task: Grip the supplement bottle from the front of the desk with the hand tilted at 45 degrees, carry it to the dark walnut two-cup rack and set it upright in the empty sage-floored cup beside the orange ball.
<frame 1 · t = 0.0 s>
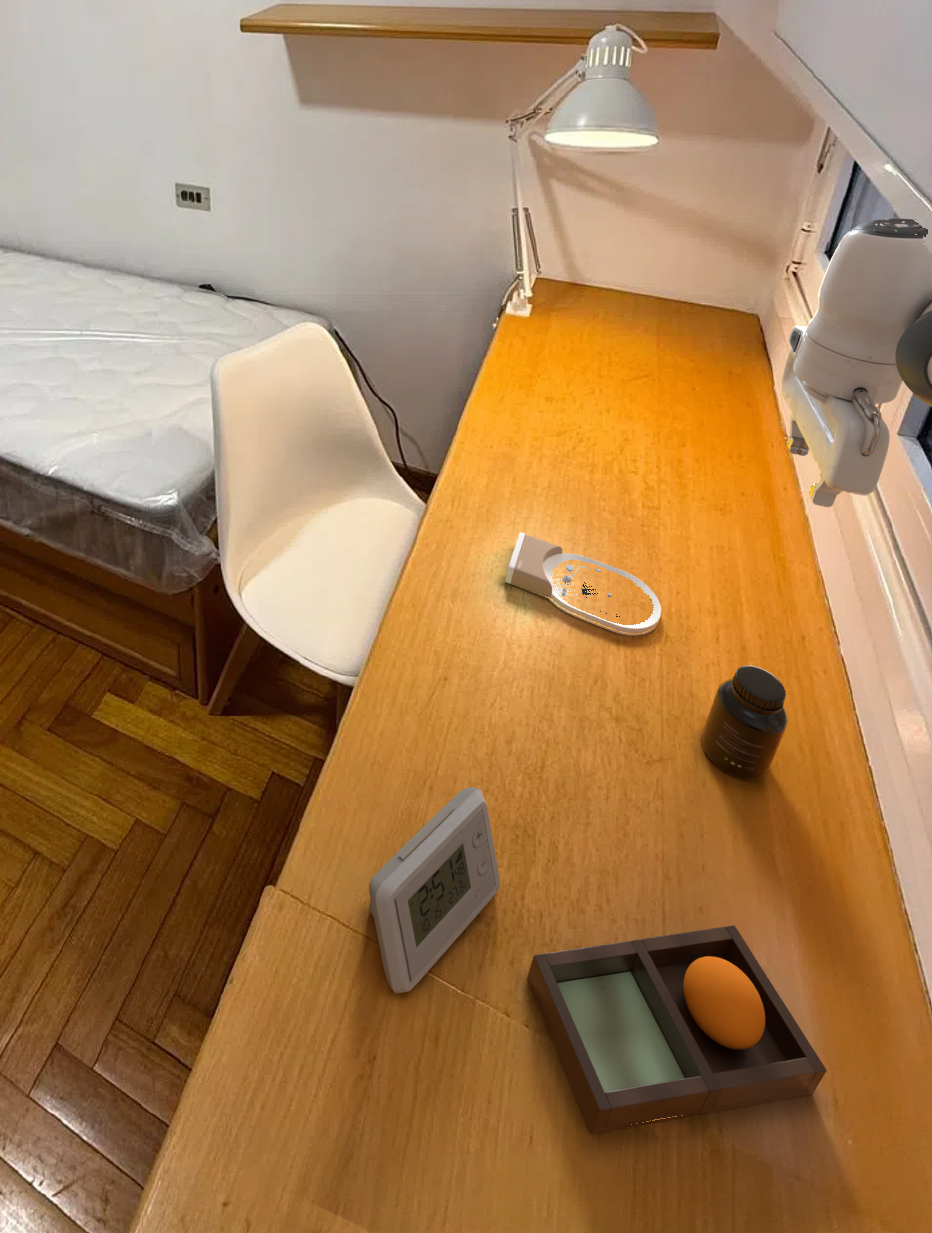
hand: (807, 475, 90), 34 cm above the table, tool pointing down, fingers open, 8 cm apart
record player: (581, 592, 119), on the table
supplement bottle: (732, 756, 96), on the table
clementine: (723, 1001, 71), point 4 cm above the table, touching rack
rack: (662, 1033, 72), on the table
digital clock: (430, 919, 80), on the table
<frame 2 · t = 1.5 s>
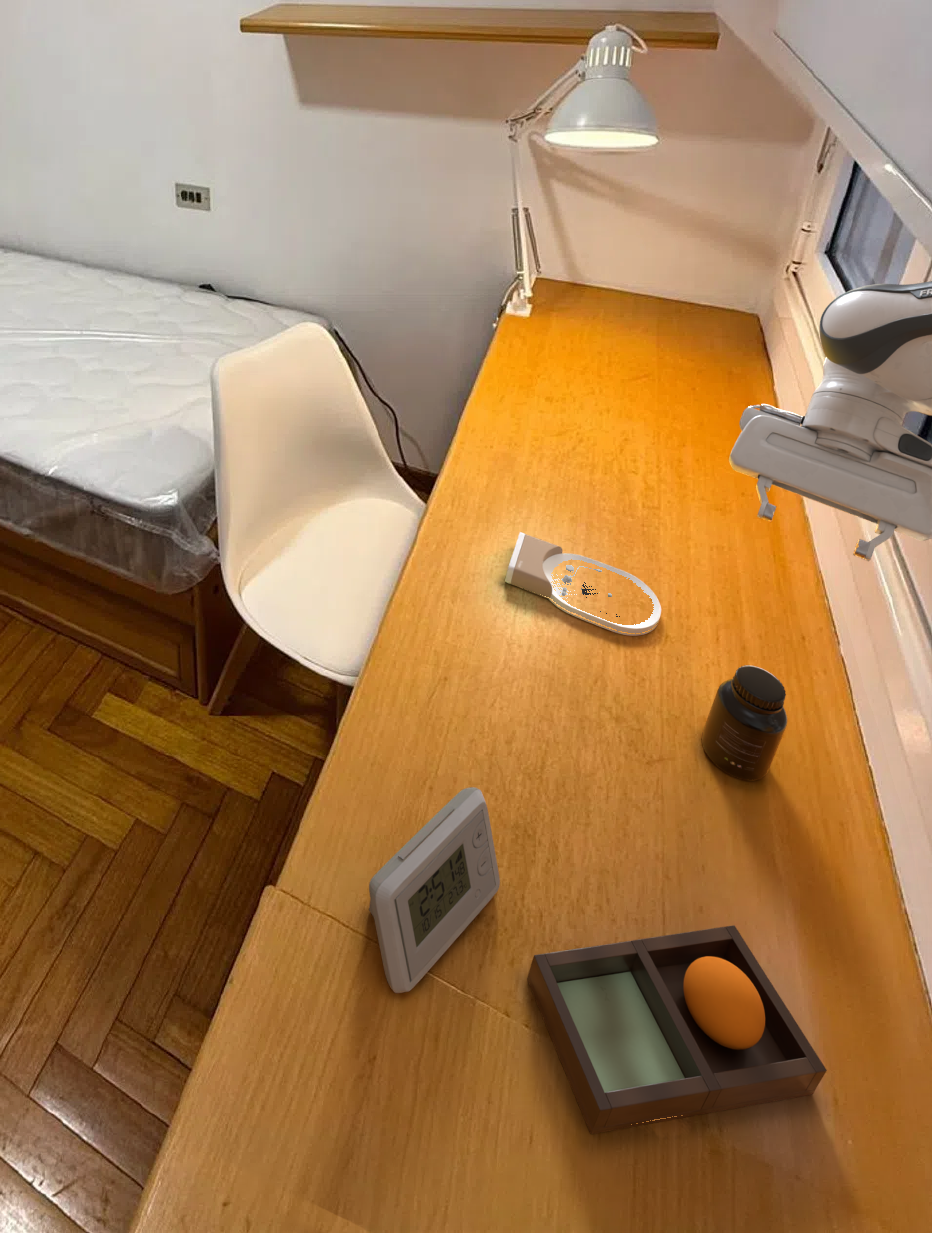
hand: (811, 537, 95), 24 cm above the table, tool tilted 45°, fingers open, 8 cm apart
nothing on the table moved.
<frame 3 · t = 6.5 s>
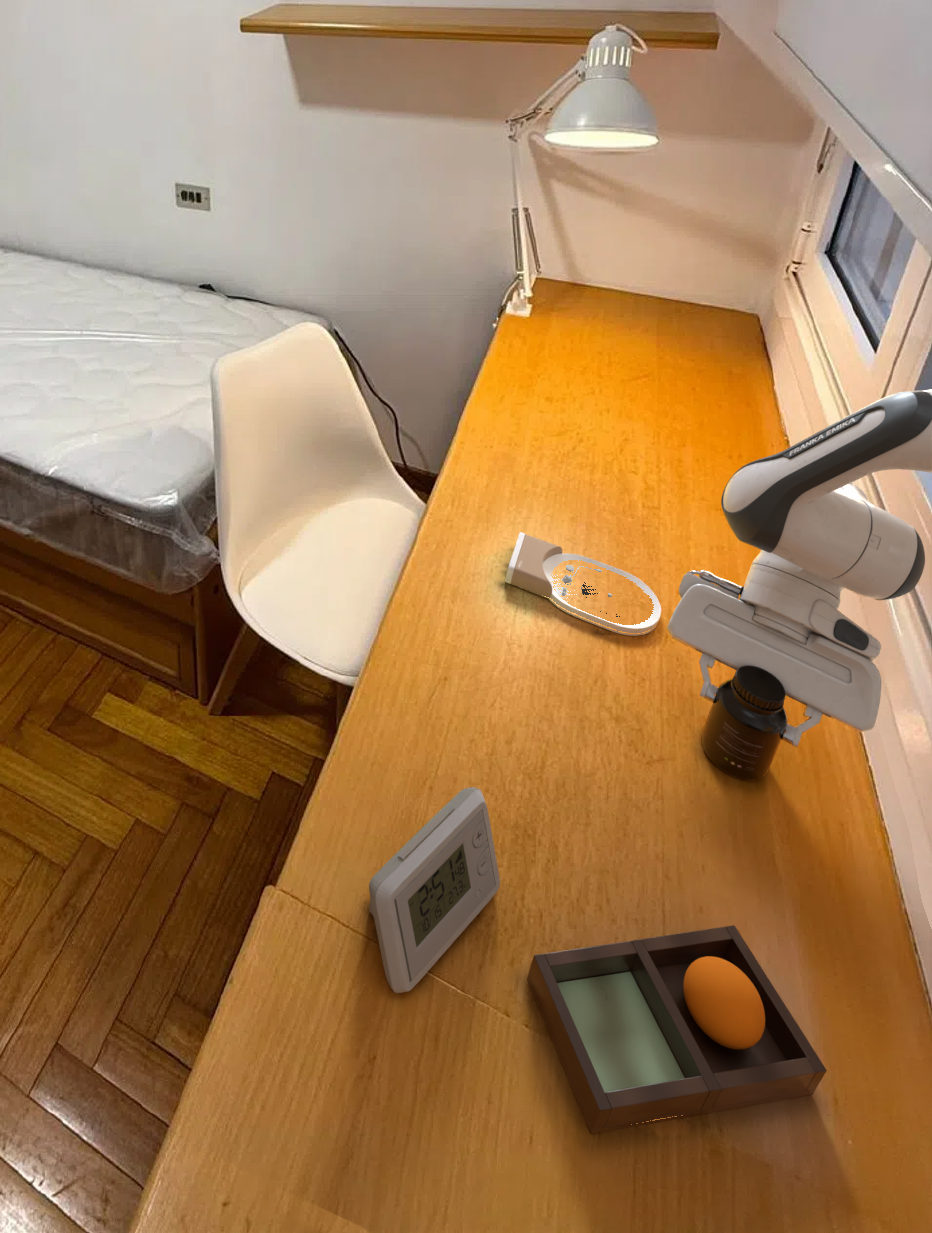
hand: (746, 720, 93), 6 cm above the table, tool tilted 45°, fingers closed on supplement bottle, 7 cm apart
supplement bottle: (732, 756, 96), on the table, touching gripper
everything else where it was.
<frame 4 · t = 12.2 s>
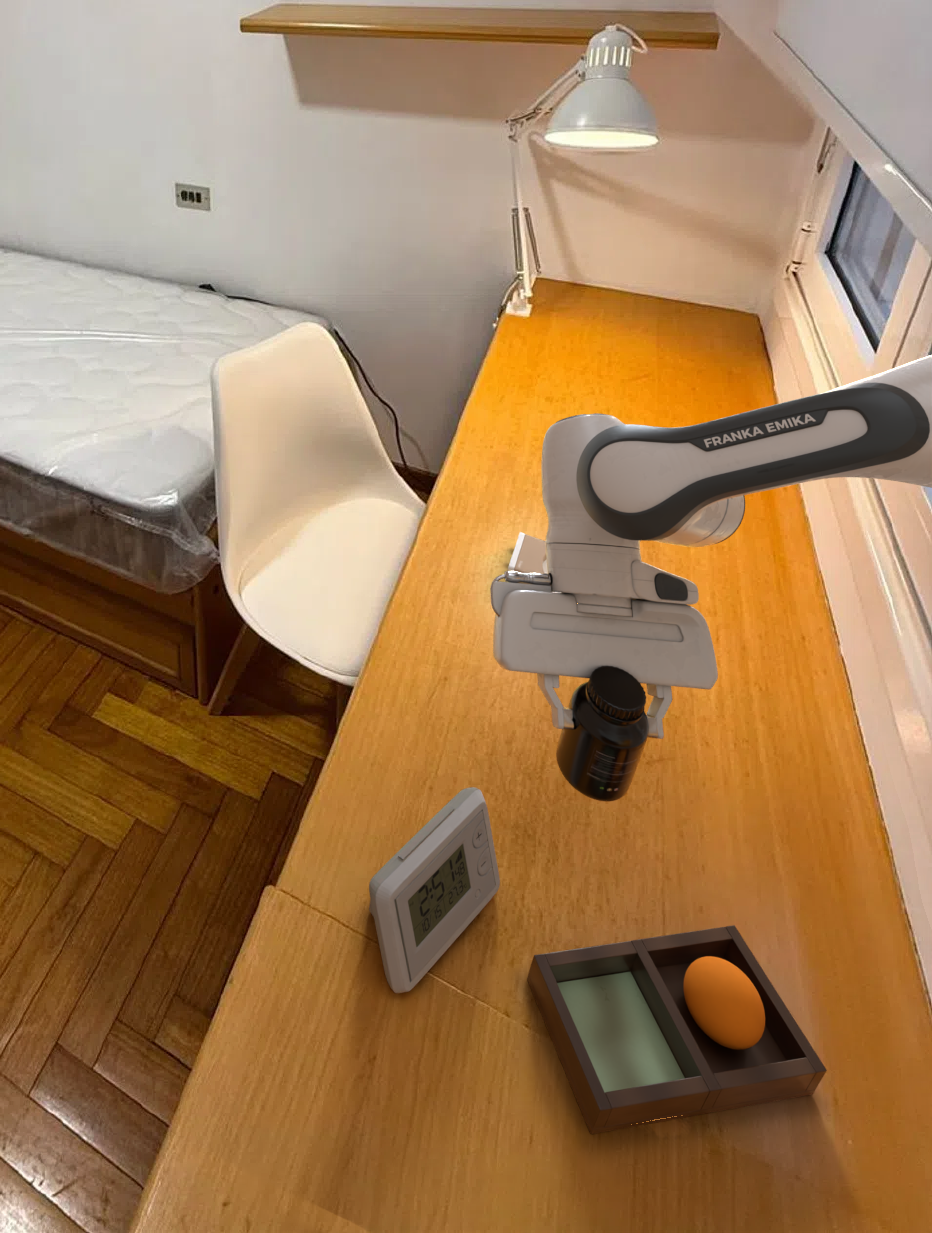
hand: (608, 733, 78), 19 cm above the table, tool tilted 45°, fingers closed on supplement bottle, 7 cm apart
supplement bottle: (590, 771, 81), point 12 cm above the table, touching gripper
everything else where it was.
when the fingers open (7 cm above the table, at t = 18.1 s): supplement bottle stays where it is, resting on rack.
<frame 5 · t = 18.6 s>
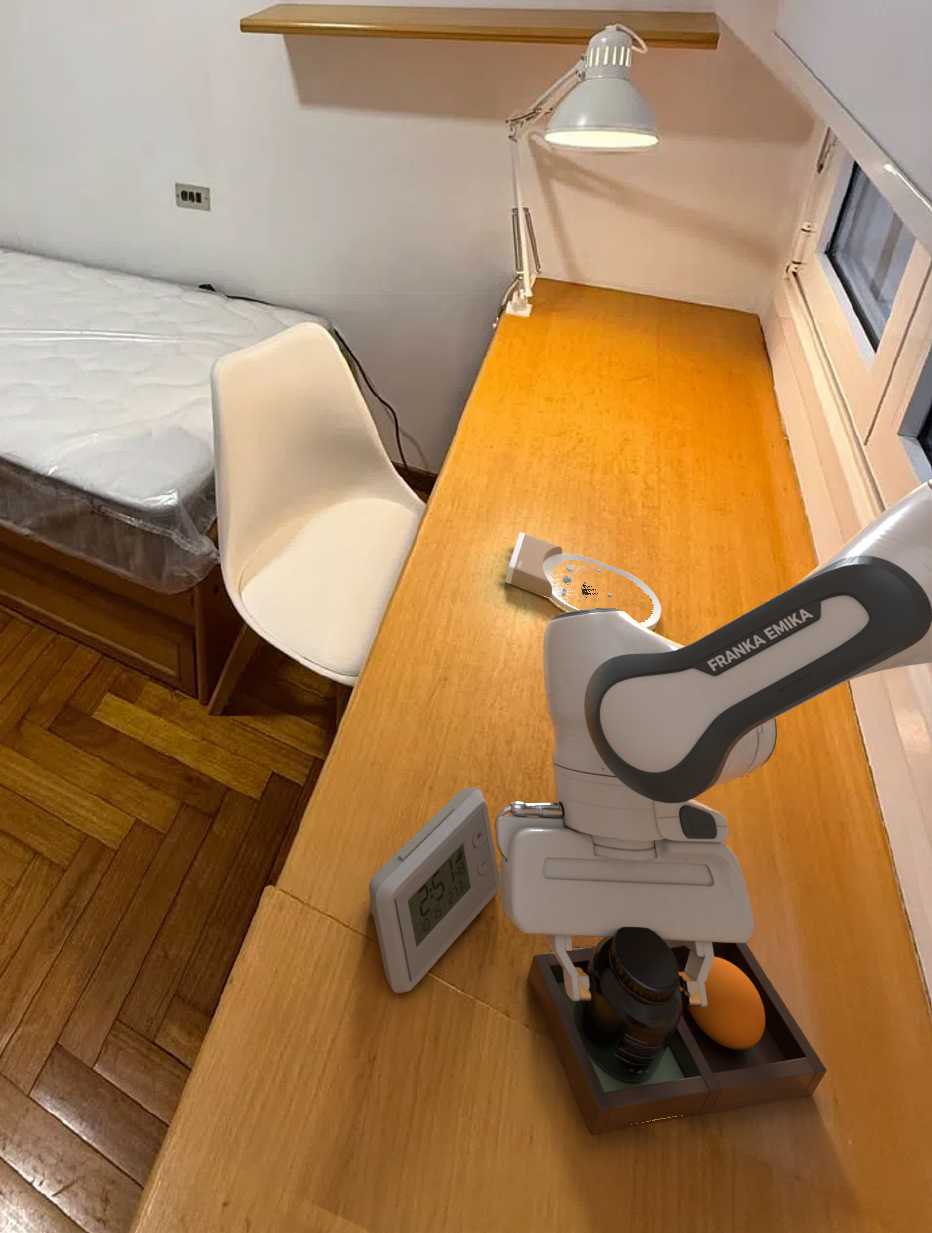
hand: (636, 1001, 68), 8 cm above the table, tool tilted 45°, fingers open, 8 cm apart
supplement bottle: (614, 1036, 71), point 1 cm above the table, touching rack
everything else where it was.
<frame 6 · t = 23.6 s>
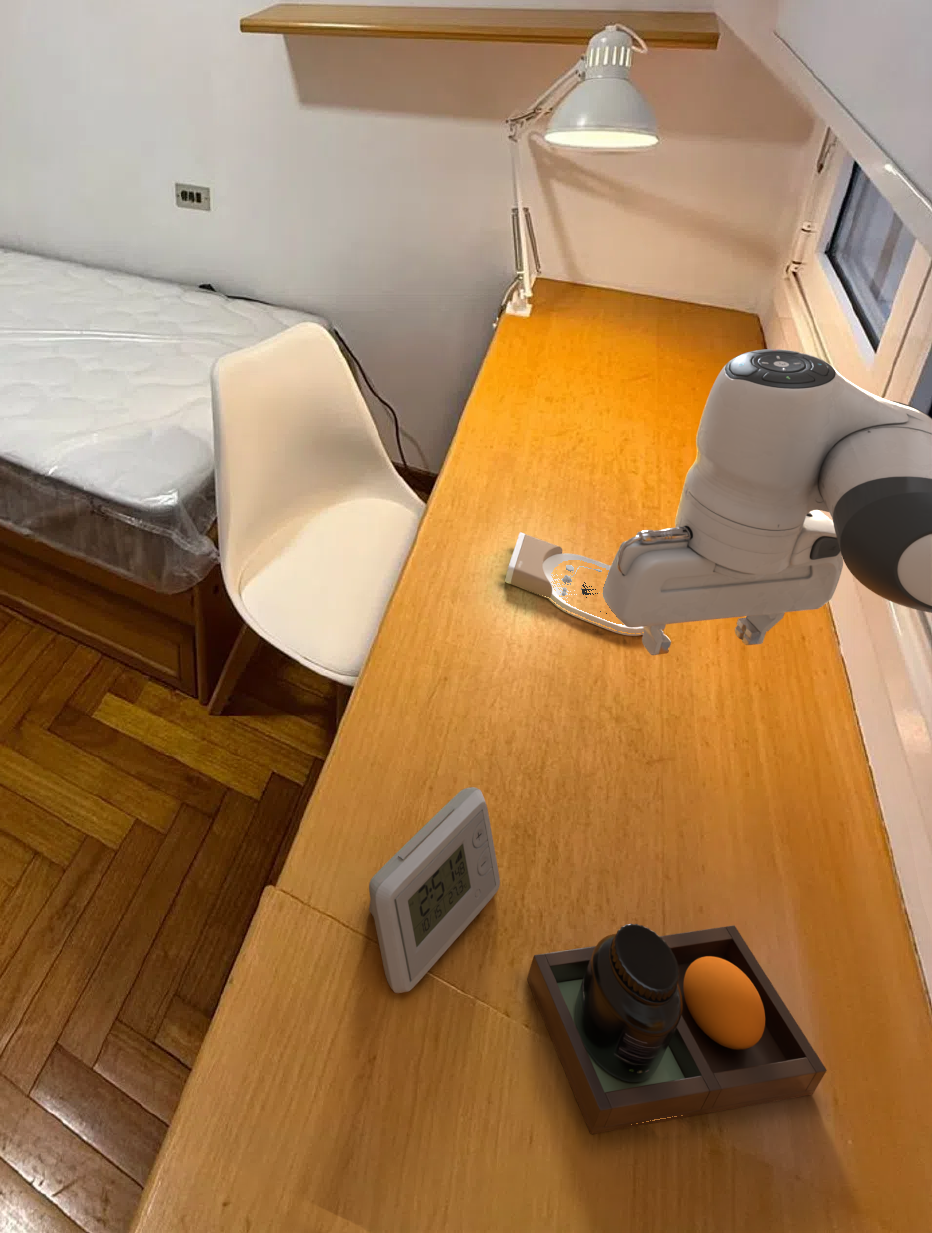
hand: (701, 644, 76), 28 cm above the table, tool pointing down, fingers open, 8 cm apart
nothing on the table moved.
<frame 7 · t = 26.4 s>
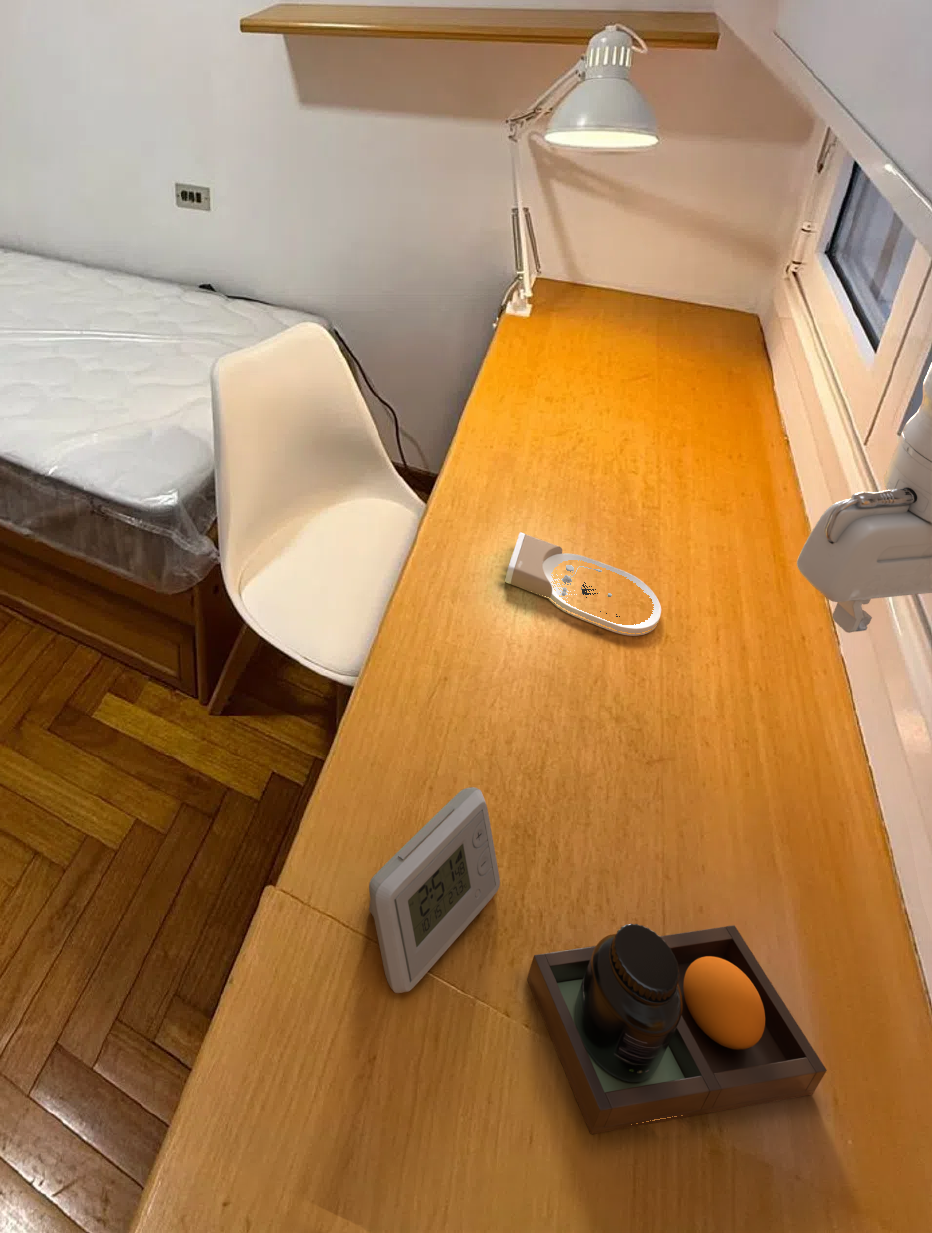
hand: (898, 620, 68), 37 cm above the table, tool pointing down, fingers open, 8 cm apart
nothing on the table moved.
at the end: supplement bottle 0.1 cm from the target spot in the rack, point 0.8 cm above the rack's base; supplement bottle tilted 0°; the gripper is holding nothing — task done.
